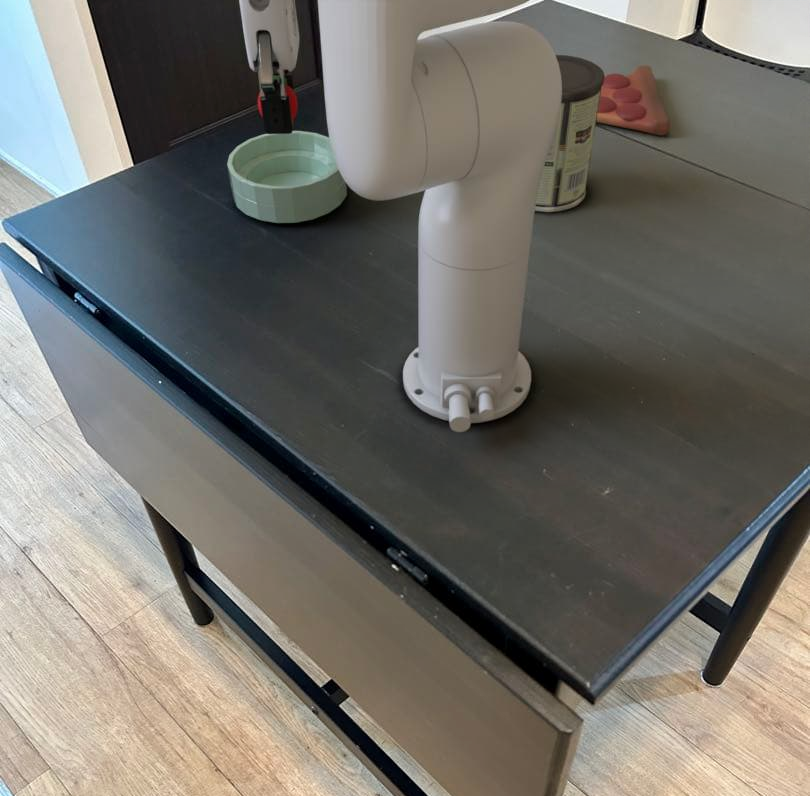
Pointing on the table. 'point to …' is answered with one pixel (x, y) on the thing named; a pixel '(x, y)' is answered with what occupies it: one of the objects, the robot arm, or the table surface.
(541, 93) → the robot arm
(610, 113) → the pizza slice
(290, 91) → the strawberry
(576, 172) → the coffee can
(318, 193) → the bowl
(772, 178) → the table surface
